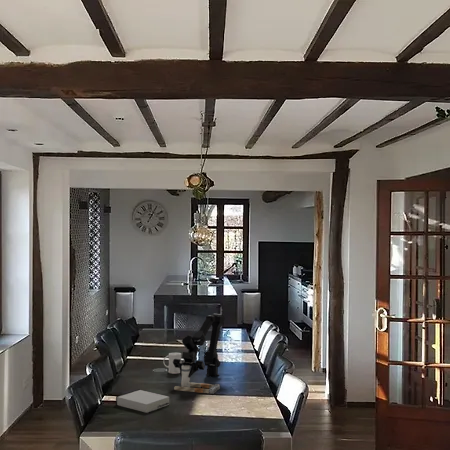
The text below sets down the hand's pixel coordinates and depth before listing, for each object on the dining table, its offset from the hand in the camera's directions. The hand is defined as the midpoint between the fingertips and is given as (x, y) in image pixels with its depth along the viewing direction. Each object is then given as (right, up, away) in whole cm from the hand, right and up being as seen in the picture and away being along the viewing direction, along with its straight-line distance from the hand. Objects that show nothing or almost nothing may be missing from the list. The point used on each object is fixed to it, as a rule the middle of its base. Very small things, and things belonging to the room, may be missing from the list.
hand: (184, 376), depth 345 cm
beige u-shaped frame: (+7, -7, -1) cm, 10 cm away
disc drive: (-20, -8, -30) cm, 37 cm away
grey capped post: (0, -7, +1) cm, 7 cm away
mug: (-11, -7, +40) cm, 42 cm away
